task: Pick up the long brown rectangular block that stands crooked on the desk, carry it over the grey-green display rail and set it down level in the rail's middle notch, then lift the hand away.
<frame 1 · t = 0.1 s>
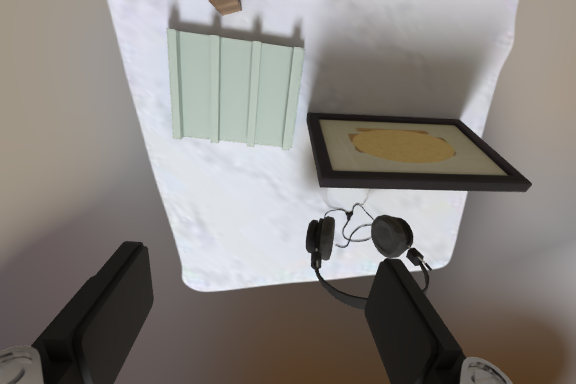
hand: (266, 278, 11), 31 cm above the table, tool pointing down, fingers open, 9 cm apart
picture frame: (378, 144, 41), on the table
headphones: (341, 220, 47), on the table
display rail: (236, 93, 37), on the table
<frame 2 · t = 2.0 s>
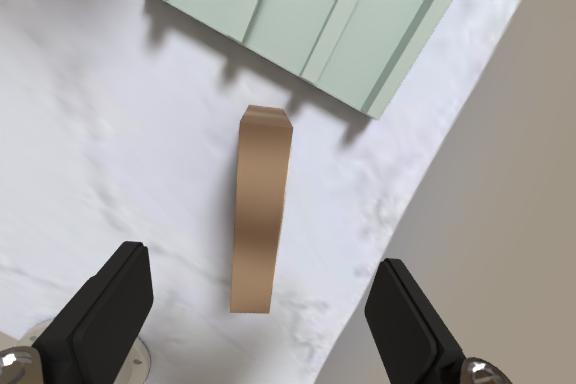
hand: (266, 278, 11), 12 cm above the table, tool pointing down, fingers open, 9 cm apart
long brown rectangular block: (259, 181, 22), on the table
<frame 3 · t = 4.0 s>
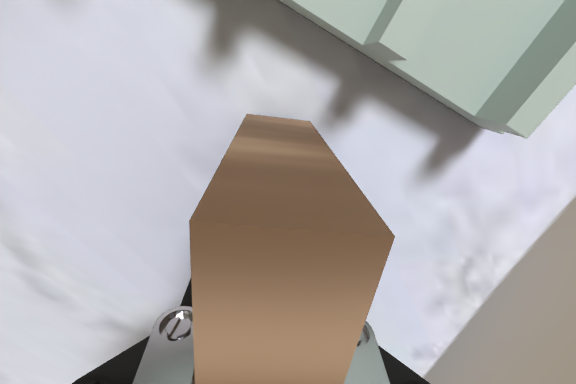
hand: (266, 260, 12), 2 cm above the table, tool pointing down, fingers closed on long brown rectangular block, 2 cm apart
long brown rectangular block: (265, 243, 13), on the table, touching gripper
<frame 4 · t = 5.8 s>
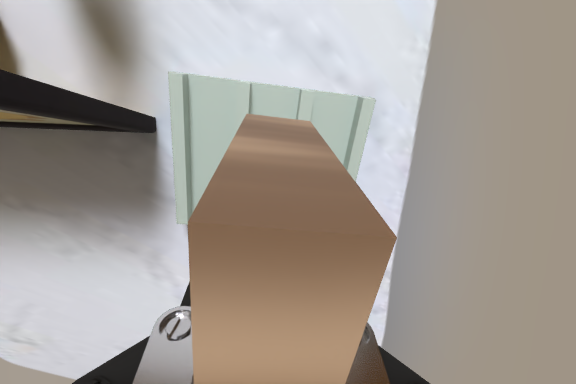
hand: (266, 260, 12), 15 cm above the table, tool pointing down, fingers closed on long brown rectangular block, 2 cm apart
picture frame: (2, 69, 21), on the table
long brown rectangular block: (265, 243, 13), point 14 cm above the table, touching gripper
display rail: (268, 157, 25), on the table
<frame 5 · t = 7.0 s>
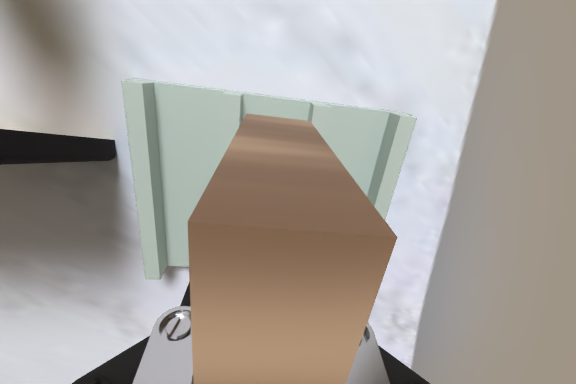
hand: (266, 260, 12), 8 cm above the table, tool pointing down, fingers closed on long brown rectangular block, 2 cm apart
long brown rectangular block: (265, 243, 13), point 7 cm above the table, touching gripper
display rail: (267, 189, 19), on the table
when the fingers open (4 cm above the table, at t = 8.1 s): long brown rectangular block drops 1 cm, resting on display rail.
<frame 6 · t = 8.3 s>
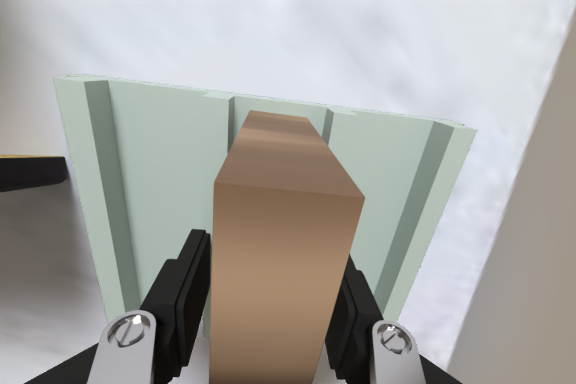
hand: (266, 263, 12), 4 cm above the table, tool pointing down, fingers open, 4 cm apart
long brown rectangular block: (264, 229, 14), point 1 cm above the table, touching display rail
display rail: (267, 218, 15), on the table
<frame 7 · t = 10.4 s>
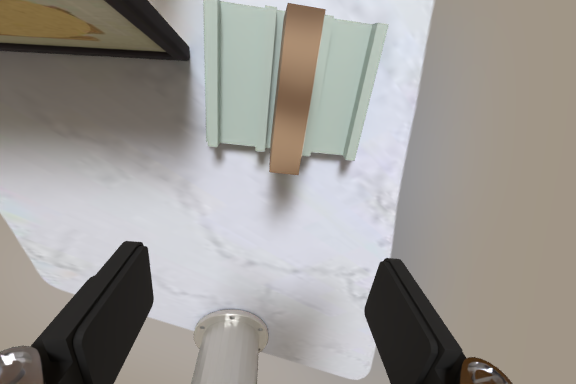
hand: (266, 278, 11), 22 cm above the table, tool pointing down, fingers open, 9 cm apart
long brown rectangular block: (288, 88, 27), point 1 cm above the table, touching display rail
display rail: (289, 87, 28), on the table
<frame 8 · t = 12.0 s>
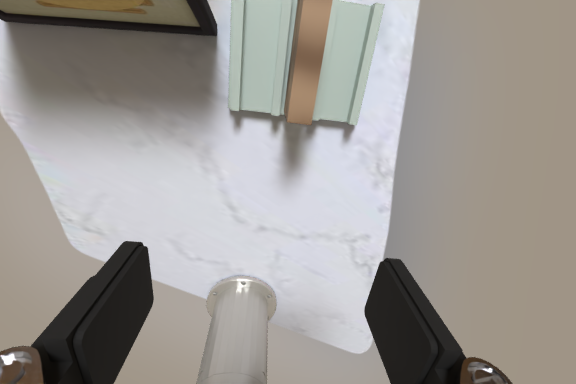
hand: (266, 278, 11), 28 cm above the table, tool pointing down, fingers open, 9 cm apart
long brown rectangular block: (300, 60, 32), point 1 cm above the table, touching display rail
display rail: (300, 61, 33), on the table
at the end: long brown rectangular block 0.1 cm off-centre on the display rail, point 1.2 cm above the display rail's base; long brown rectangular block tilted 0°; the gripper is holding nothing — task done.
